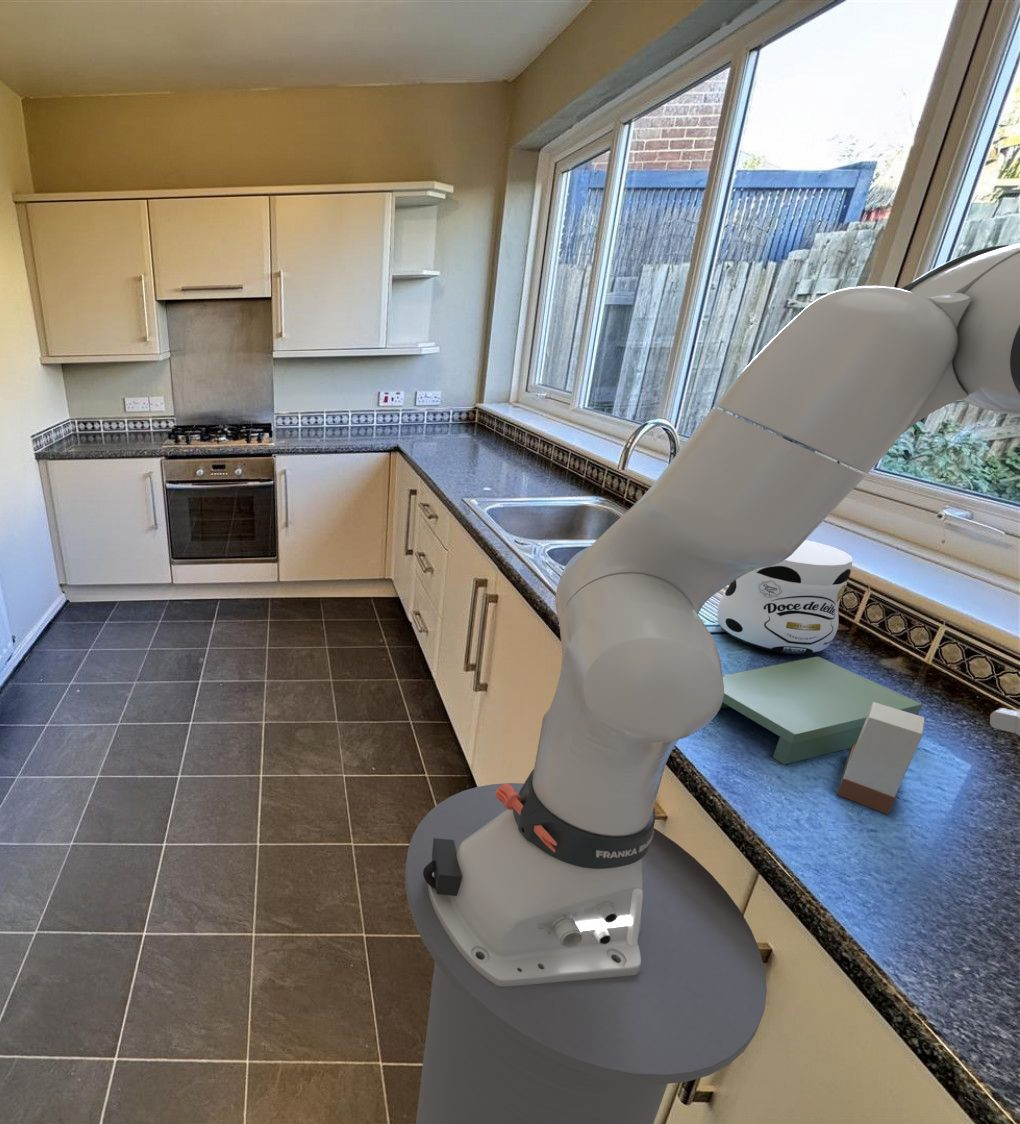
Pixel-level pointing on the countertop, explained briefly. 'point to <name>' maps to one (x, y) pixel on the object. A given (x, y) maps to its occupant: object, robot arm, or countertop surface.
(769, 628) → the doce de leite container
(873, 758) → the grey-brown block
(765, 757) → the countertop surface
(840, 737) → the shoe shelf
